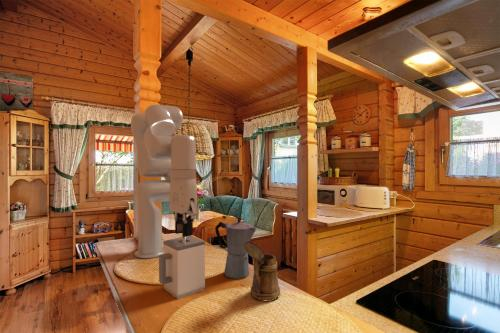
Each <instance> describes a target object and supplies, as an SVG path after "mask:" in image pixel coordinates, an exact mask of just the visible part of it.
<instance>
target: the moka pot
mask: <svg viewBox="0 0 500 333" xmlns="http://www.w3.org/2000/svg"><path fill="white" fill-rule="evenodd" d="M236 219H237V221H235V222H230V223H228V222H223V221H219V222H218V224H217V225H215V228H214V229H215V234H216V238H217V241H218V245H219V246H218V247H219V248H221V249H223V250H224V249H227V255H226V260H225V265H224V272H223V274H224V275H225V277H228V278H230V279H233V280H234V279H235V280H236V279H237V280H240V279H241V280H242V279H245V278H247V277H248V276H249V275H250V268H249V254H248V253H247V252H246V251H245V248H244V244H245V243H246V242H248V241H250V242H251V240H252V239H253V236H254V235H255V232H256V231H257V230H258V229H257V227H256V226H254V225H252V224H250V223H246V222H242V218H241V217H237V218H236ZM219 228H222V229H225V230H226V241H227V245H223V243H222V238H221V235H220V230H219Z"/></svg>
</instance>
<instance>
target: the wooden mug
mask: <svg viewBox="0 0 500 333" xmlns="http://www.w3.org/2000/svg"><path fill="white" fill-rule="evenodd" d="M244 248H245V251H246V252H247V253H248V256H250V257H252V259H253V261H254V262H253V276H252V283H251V284H252V285H251V287H250V293H249V294H250V297H252V298H253V297H254V298H253V299H255V298H256V299H255V300H257V299H260V300H272V299H275V298H277V297H278V296H279V295H281V287H280V285H279V284H280V283H279V277H278V276H279V275H278V262H277V258H276V256H275V255H273V254H269V253H264V250H263V249H262V248H261V246H259V245H257V244H256V243H254V242H252V241H251V240H250V241H248V242H246V243H245V244H244ZM279 297H280V296H279ZM277 299H278V298H277ZM260 300H259V301H260ZM275 300H276V299H275Z"/></svg>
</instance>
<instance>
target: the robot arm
mask: <svg viewBox="0 0 500 333" xmlns="http://www.w3.org/2000/svg"><path fill="white" fill-rule="evenodd" d="M183 121H184V115H183V112H182V110H181V109H180V108H179V107H177V106H173V105H172V106H171V105H164V104H151V105H149V106H147V107H146V109H145V111H144V113H137V114H134V115H133V116H132V117H131V118H130V130H131V134H132V137H133V139H134V142H135V145H136V153H137V155H136V156H137V158H136V159H137V170H138V174H139V176H140V177H142V178H163V179H151V180H142V181H140V182H138V183H137V184H136V186H135V197H136V202H137V214H138V215H137V217H138V218H137V219H138V220H137V221H138V222H137V223H138V226H137V227H138V249H137V250H135V252H134V257H135V258H140V259H152V258H159V255H162V254H163V228H162V227H163V221H162V219H163V218H162V216H163V215H162V211H161V208H159V206H158V205H157V204H156V203H160V202H161V203H162V202H163V203H164V202H168V209H169V211H170V212H172V213H173V216H174V217H173V220H174V233H175V234H177V235H178V234H180V233H178V232H177V223H181V222H184V223H183V236H184V237H186V236H193V234H194V232H193V231H194V225H193V224H194V222H195V218H196V217H197V216H198V211H197V210H198V190H197V183H196V181H197V162H196V161H197V160H196V159H197V155H196V154H197V151H196V149H197V148H196V138H195V136H193V135H189V134H175V135H174V133H175V132H176V131H177V130H178V129H180V128H181V126H182V124H183Z"/></svg>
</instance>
